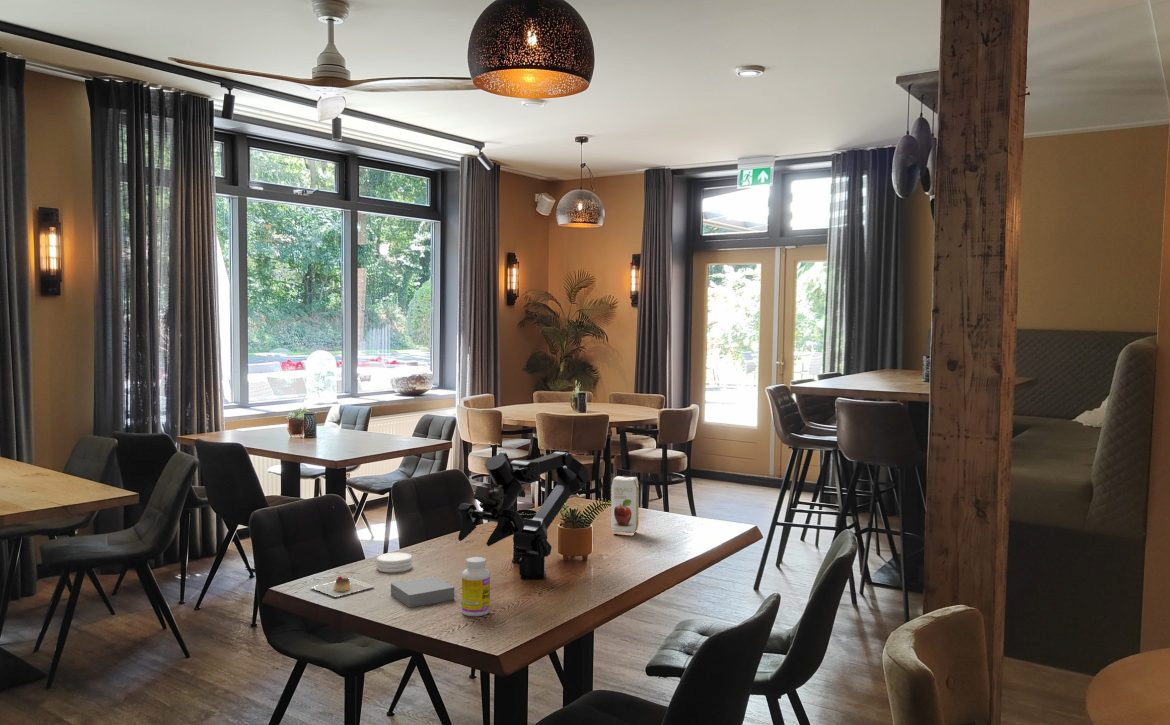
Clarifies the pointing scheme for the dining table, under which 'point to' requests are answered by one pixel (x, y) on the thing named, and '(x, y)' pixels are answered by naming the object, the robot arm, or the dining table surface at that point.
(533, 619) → the dining table surface
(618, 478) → the juice carton
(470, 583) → the supplement bottle
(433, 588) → the block
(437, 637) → the dining table surface
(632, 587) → the dining table surface
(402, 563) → the coaster
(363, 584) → the dessert
